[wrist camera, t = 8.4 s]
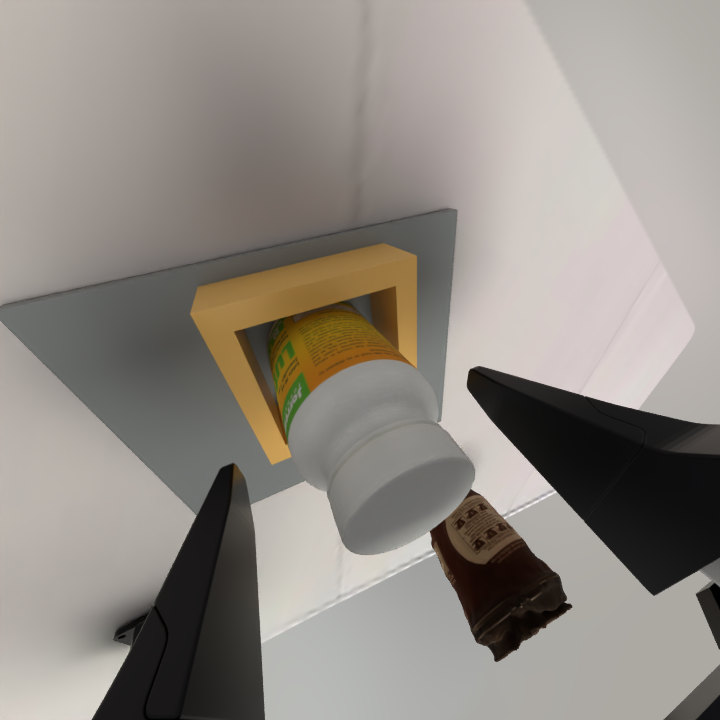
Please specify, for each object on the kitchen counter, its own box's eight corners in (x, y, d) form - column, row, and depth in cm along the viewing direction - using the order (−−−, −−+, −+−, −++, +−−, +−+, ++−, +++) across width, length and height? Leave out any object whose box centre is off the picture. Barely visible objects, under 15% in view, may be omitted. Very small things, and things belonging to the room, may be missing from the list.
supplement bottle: (256, 299, 12) (302, 484, 5) (365, 288, 14) (524, 408, 7) (274, 392, 15) (320, 598, 8) (362, 372, 17) (470, 524, 9)
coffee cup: (411, 472, 27) (521, 645, 17) (475, 451, 30) (601, 587, 20) (397, 520, 31) (478, 679, 21) (454, 498, 34) (548, 628, 24)
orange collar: (392, 376, 18) (416, 405, 16) (265, 424, 16) (271, 465, 14) (383, 243, 13) (416, 255, 11) (197, 286, 11) (190, 314, 9)
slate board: (436, 416, 24) (440, 421, 23) (206, 515, 19) (205, 524, 19) (450, 208, 14) (457, 209, 14) (2, 305, 10) (-9, 311, 9)
